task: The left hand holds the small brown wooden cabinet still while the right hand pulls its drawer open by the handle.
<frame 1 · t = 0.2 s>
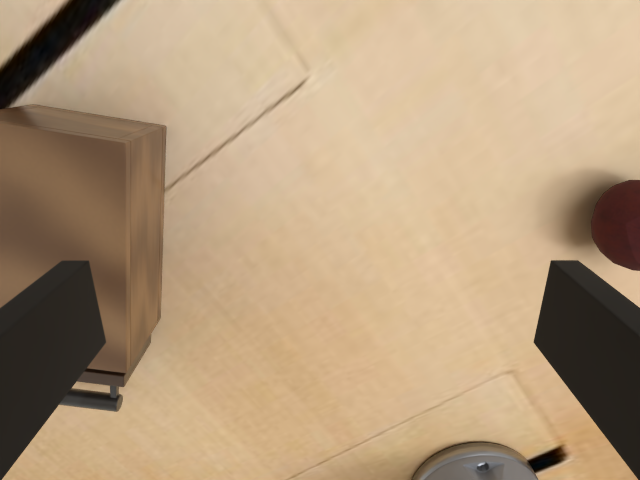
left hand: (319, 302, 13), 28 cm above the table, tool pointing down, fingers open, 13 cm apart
cabinet: (102, 221, 41), on the table
drawer: (82, 300, 40), point 4 cm above the table, slide at 1.2 cm
dark red ball: (613, 210, 41), on the table
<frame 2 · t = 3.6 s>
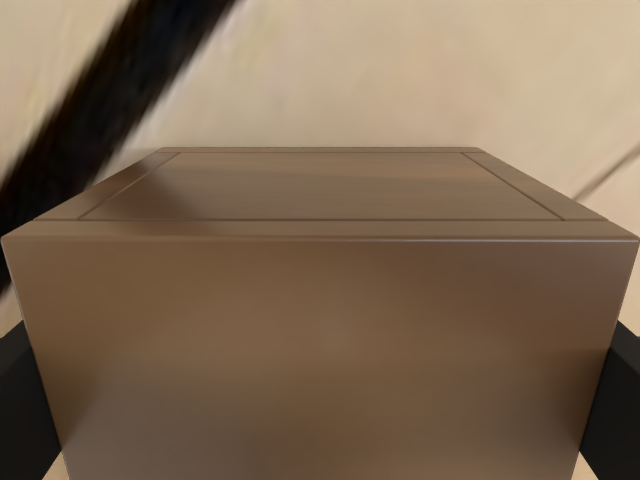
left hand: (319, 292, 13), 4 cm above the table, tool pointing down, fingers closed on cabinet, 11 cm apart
cabinet: (320, 371, 19), on the table, touching left hand
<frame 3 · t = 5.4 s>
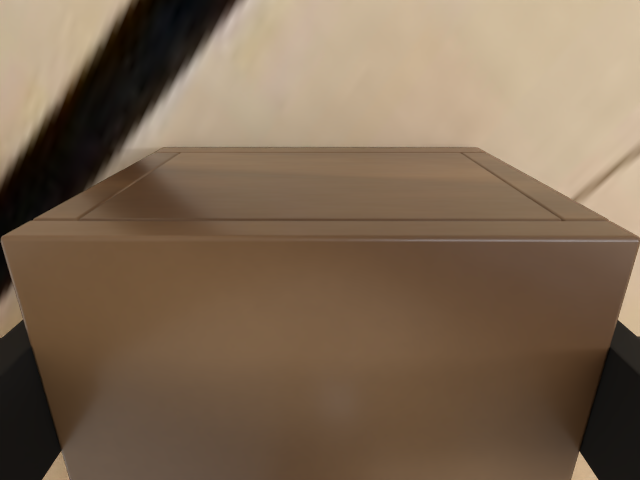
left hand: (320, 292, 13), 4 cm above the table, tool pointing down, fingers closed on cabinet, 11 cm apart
cabinet: (320, 371, 19), on the table, touching left hand
when the left hand's fingers open (4 cm above the table, at t = 8.5 s): cabinet stays where it is, on the table.
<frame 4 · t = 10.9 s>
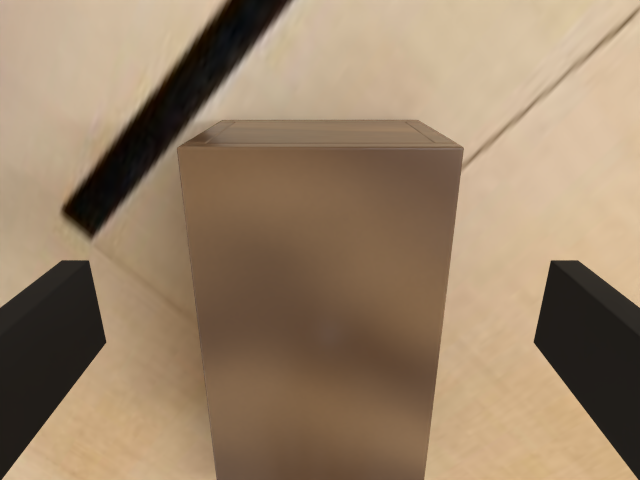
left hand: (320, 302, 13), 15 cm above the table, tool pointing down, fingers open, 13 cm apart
cabinet: (320, 273, 29), on the table
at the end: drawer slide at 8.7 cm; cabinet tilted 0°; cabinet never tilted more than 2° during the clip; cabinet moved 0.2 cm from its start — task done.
